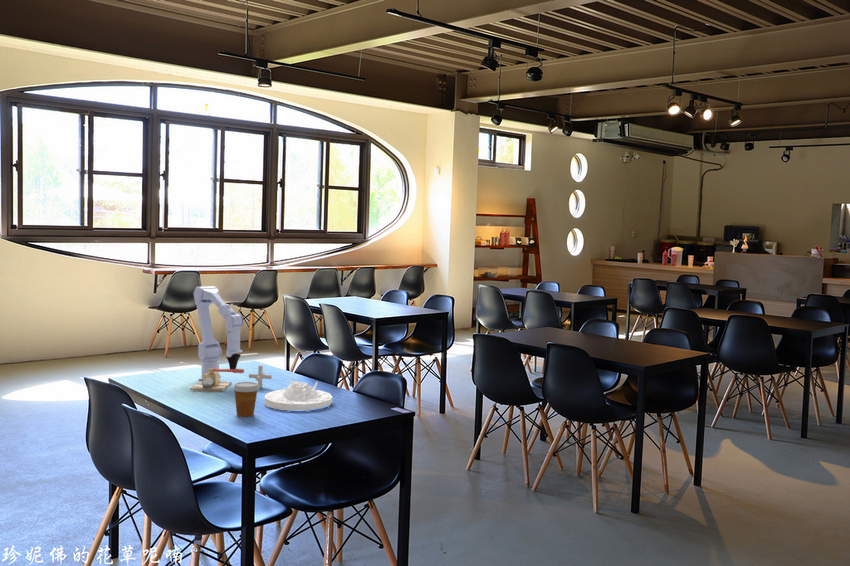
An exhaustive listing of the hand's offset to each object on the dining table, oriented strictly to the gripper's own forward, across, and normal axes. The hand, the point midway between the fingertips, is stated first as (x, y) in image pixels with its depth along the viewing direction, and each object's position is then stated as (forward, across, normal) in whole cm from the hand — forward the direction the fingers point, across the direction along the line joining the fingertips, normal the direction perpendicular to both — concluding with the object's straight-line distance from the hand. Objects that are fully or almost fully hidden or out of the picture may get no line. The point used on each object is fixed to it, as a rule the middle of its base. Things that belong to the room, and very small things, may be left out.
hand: (232, 370), depth 323 cm
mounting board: (+7, -6, +8) cm, 12 cm away
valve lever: (0, -6, +1) cm, 6 cm away
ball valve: (+7, -6, +8) cm, 12 cm away
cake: (+8, -27, -36) cm, 46 cm away
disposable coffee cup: (+7, -50, -20) cm, 55 cm away
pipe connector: (+7, -1, -13) cm, 15 cm away
